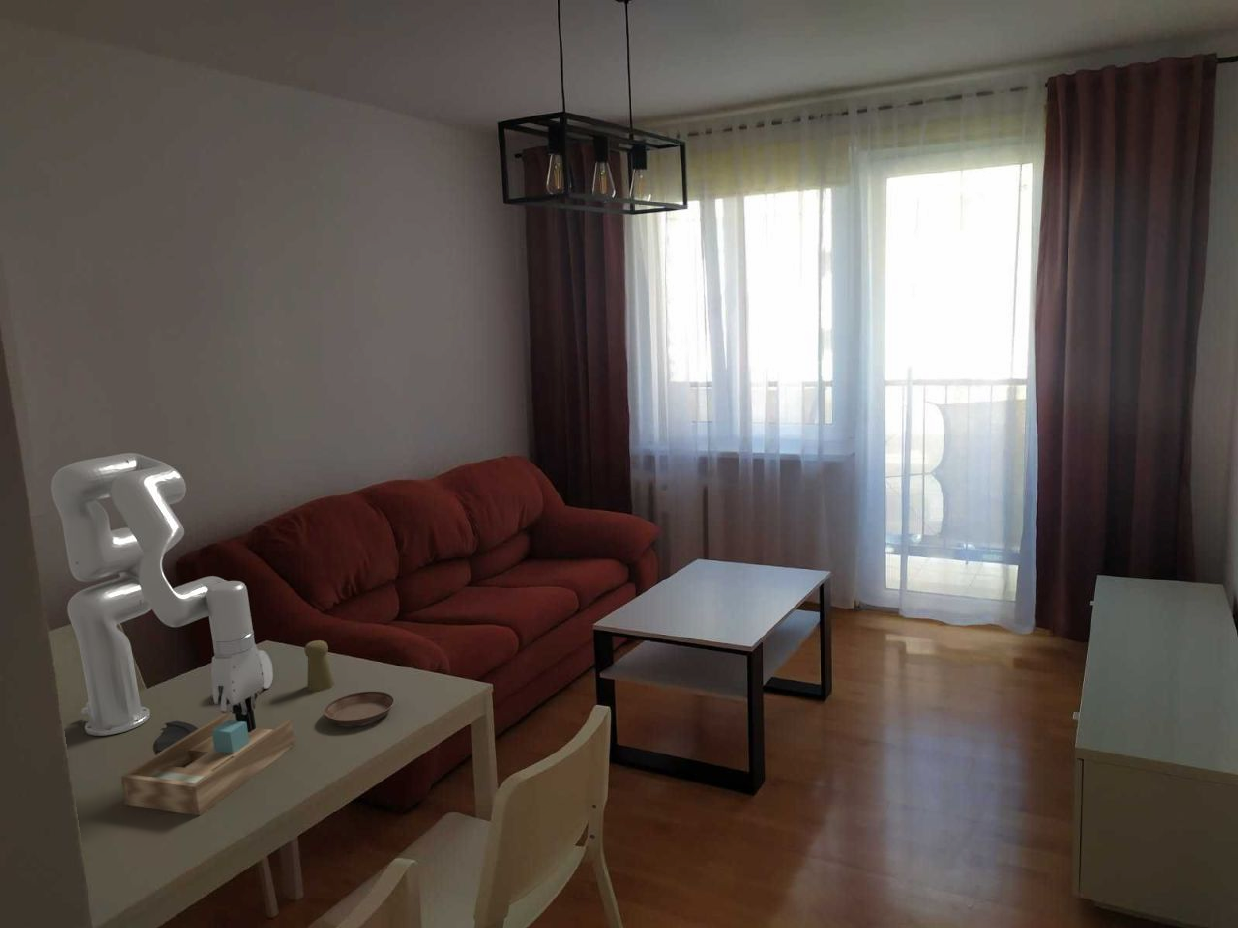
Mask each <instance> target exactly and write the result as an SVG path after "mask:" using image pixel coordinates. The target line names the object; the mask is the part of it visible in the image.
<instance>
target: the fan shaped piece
mask: <svg viewBox="0 0 1238 928" xmlns="http://www.w3.org/2000/svg"><path fill="white" fill-rule="evenodd" d="M164 724H165V725H166V726H165V728H164V730H163V731H162V733H161V734H160V735H159V736H158V737H157V738H156V743H155V744H156V751H157V754H158V753H160V752H162V751H163V750H165V749H167V748H168V747H170V746H171V745H173V744H175V743H176V742H178V741H180V740H181V739H183V738H184V737H186V736H188V735H189V734H191V733H193V732H194V731H196V730H197V729H199V727H197V726H195V725H194V724H191V723H189V722H185V721H182V720H181V721H180V720H173V721H168V722H165V723H164Z"/></svg>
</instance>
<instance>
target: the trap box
mask: <svg viewBox="0 0 1238 928" xmlns="http://www.w3.org/2000/svg"><path fill="white" fill-rule="evenodd" d="M228 714H229V713H221V714H220V715H218V716H217V717H215V718H213V719H212V720H211V721H208V722H207V723H206V724H204V725H202V726H201V727H198V729H197V730H196V731H194V732H193V733H191V734H189V735H188V736H186V737H184V738H183V739H181V740H180V741H178V742H176V743H175V744H173V745H171V746H170V747H168V748H167V749H165V750H163V751H162V752H160V753H158V752H157V754H155V755H154V756H152V757H150V758H149V759H147V760H145V761H143V762H142V763H141V764H139V765H138V766H136V767H133V768H132V769H131V770H129V771H127V772H126V773H124V774H122V775H121V776H120V782H121V787H122V793H123V799H124V804H125V805H127V806H132V807H140V808H147V809H153V810H160V811H167V812H174V813H180V814H181V813H182V814H186V815H187V814H188V815H195V816H201V815H203V814H204V813H205V812H207V811H208V810H209V809H211V808H212V807H214V806H215V805H216V804H217V803H219V802H220V801H222V800H223V799H224V798H226V797H227V796H229V795H230V794H231V793H232V792H234V791H235V790H237V789H238V788H239V787H241V786H243V785H244V784H245V783H246V782H248V781H249V780H251V779H252V778H253V777H254V776H255V775H258V773H259V772H262V770H264V769H266V768H267V767H269V766H270V765H271V764H272V763H273V762H275V761H276V760H278V759H279V758H280V757H282V756H283V755H284V754H286V753H287V752H288V751H289V750H291V749H292V748H293V747H295V744H296V742H295V737H294V736H295V735H294V729H293V721H292V720H290V719H287V720H285V721H284V722H282V723H280V724H279V725H278V726H277V727H275V728H274V729H268V728H260V727H256V729H254V730H252V731H251V732H248V737H249V743H248V744H247V745H246V746H244V747H243V748H241V749H240V750H238V751H237V752H235V753H234V754H231V753H222V752H215V751H214V744H213V738H212V731H211V730H213V729H214V728H216V727H217V726H219V725H221V724H222V723H224V722H225V721H227V720H229V715H228Z"/></svg>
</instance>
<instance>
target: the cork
mask: <svg viewBox="0 0 1238 928" xmlns="http://www.w3.org/2000/svg"><path fill="white" fill-rule="evenodd" d="M328 650H329V647H328V643H327V642H326V641H325V640H321V639H318V640H312V641H309V642H308V643H306V645H305V646H304V654H305V656H306V657H307V684H306V685H307V691H309V692H314V693H315V692H316V693H317V692H323V691H326V690H329V689H331V688H332V687H334V686H333V685H335V682H334V678H333V674H332V671H331V667H330V663H329V660H328V656H327V653H328Z"/></svg>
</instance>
